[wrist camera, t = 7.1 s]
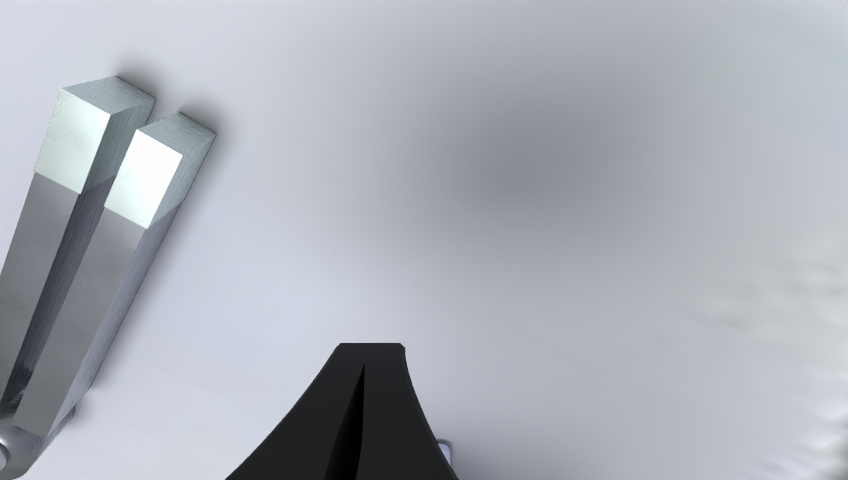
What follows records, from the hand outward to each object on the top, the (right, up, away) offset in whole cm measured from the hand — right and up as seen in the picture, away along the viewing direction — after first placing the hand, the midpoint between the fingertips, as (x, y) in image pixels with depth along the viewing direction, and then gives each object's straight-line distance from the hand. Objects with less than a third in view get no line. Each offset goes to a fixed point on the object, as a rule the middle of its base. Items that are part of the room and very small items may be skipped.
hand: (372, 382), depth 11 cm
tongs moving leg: (-13, +3, +10) cm, 17 cm away
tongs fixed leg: (-13, +1, +11) cm, 17 cm away
